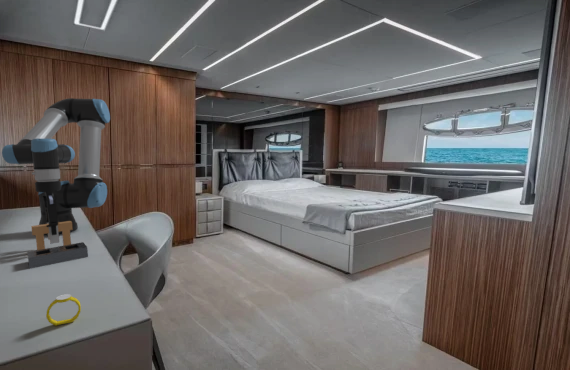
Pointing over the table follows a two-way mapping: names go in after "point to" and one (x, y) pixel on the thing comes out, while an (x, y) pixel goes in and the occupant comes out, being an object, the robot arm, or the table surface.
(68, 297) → the watch
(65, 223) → the notched wooden block
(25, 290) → the table surface
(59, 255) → the slotted gray block
